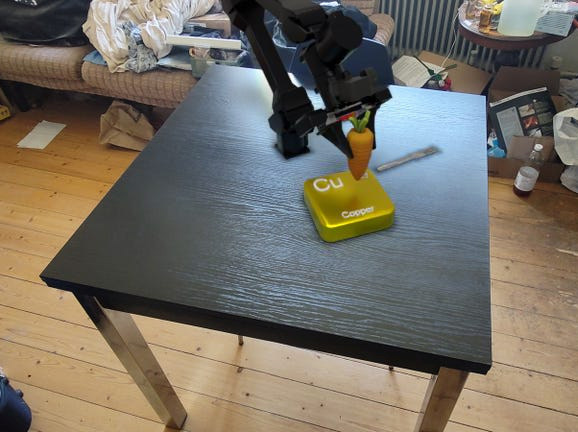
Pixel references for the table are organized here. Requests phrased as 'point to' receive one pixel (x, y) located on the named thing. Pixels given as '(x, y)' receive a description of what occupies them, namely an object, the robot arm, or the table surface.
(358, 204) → the element tile
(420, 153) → the thin grey rod
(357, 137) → the carrot
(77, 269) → the table surface
